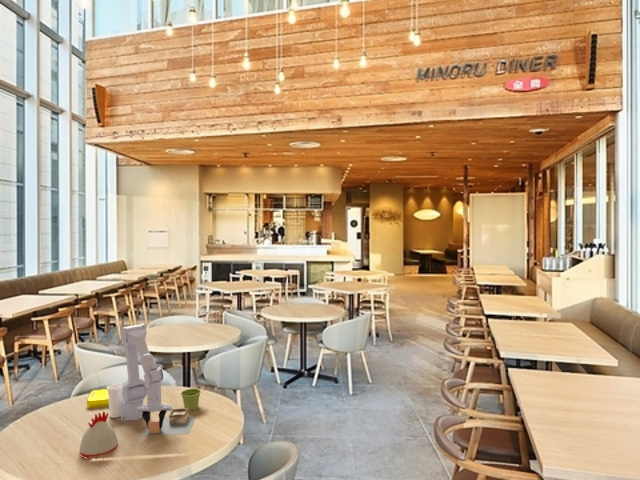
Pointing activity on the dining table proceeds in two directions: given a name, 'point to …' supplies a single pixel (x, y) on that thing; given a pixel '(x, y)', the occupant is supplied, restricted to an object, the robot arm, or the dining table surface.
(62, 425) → the dining table surface
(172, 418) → the birch socket block
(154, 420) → the terracotta block
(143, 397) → the robot arm
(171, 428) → the grey board
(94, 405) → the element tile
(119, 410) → the cup
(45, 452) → the dining table surface
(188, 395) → the plant pot
